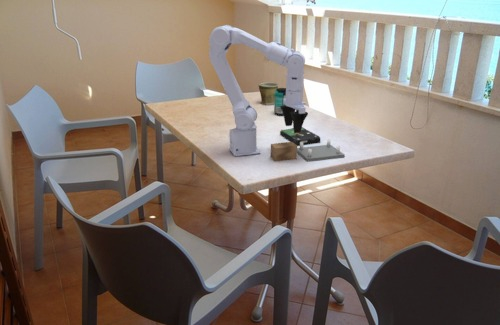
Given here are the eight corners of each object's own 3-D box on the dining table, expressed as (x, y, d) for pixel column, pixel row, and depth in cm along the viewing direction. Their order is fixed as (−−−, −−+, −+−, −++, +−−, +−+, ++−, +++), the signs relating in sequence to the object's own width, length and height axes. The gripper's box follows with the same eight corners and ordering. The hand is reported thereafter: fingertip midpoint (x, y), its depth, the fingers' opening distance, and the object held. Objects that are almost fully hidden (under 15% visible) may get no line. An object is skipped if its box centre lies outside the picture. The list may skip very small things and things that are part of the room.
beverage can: (289, 112, 199) (290, 87, 195) (289, 116, 193) (289, 90, 188) (274, 112, 200) (275, 87, 195) (273, 116, 193) (274, 90, 189)
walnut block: (274, 162, 140) (275, 148, 138) (270, 157, 144) (270, 143, 142) (296, 159, 142) (297, 145, 140) (291, 155, 146) (292, 141, 144)
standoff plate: (307, 161, 140) (307, 151, 138) (294, 150, 150) (295, 141, 148) (344, 157, 143) (345, 147, 142) (330, 147, 153) (330, 138, 152)
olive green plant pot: (278, 106, 211) (278, 86, 207) (258, 106, 211) (258, 86, 207) (277, 100, 223) (277, 81, 219) (258, 100, 223) (258, 81, 219)
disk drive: (320, 144, 158) (301, 132, 171) (321, 137, 157) (302, 126, 170) (296, 147, 155) (279, 135, 167) (297, 140, 154) (279, 129, 166)
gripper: (314, 93, 132) (312, 133, 137) (296, 84, 145) (295, 122, 150) (294, 94, 130) (292, 135, 135) (278, 86, 143) (277, 123, 148)
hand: (292, 128), depth 143 cm, fingers open, 7 cm apart
